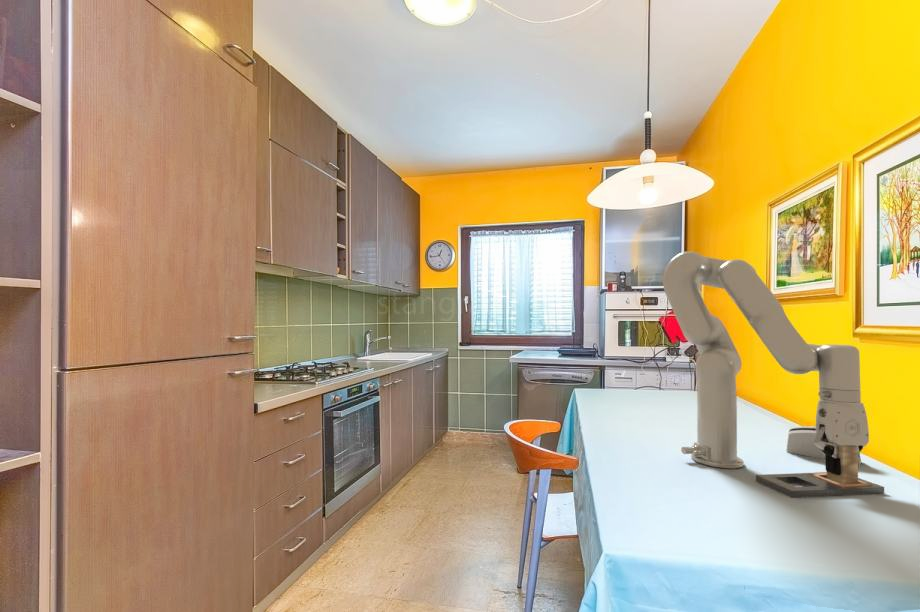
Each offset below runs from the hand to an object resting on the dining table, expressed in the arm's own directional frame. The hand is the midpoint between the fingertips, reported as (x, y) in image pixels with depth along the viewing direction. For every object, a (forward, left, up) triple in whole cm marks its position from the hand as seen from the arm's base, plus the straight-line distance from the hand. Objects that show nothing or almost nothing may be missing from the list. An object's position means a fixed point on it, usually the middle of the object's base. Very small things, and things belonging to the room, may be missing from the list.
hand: (841, 472), depth 104 cm
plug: (0, 0, -2) cm, 2 cm away
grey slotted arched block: (+17, +20, -4) cm, 26 cm away
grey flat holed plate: (-6, 0, -3) cm, 7 cm away
